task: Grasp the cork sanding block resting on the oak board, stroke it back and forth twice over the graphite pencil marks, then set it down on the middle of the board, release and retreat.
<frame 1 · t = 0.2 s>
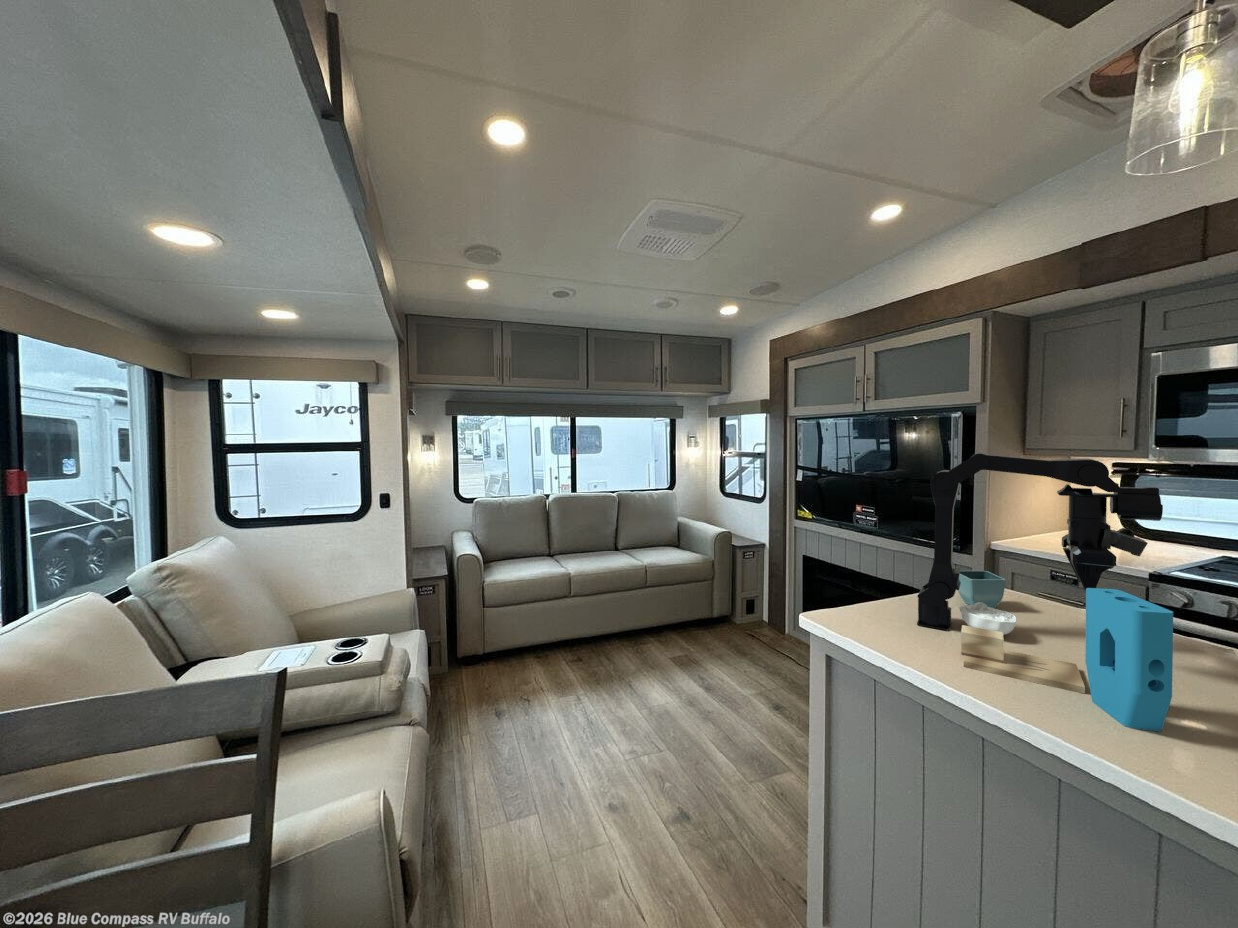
hand: (1086, 587, 99), 14 cm above the countertop, fingers open, 9 cm apart
board: (1019, 668, 95), on the countertop
block: (1125, 715, 78), on the countertop
flower pot: (979, 606, 129), on the countertop
sanding block: (982, 654, 98), point 1 cm above the countertop, touching board
cell model: (987, 633, 112), on the countertop
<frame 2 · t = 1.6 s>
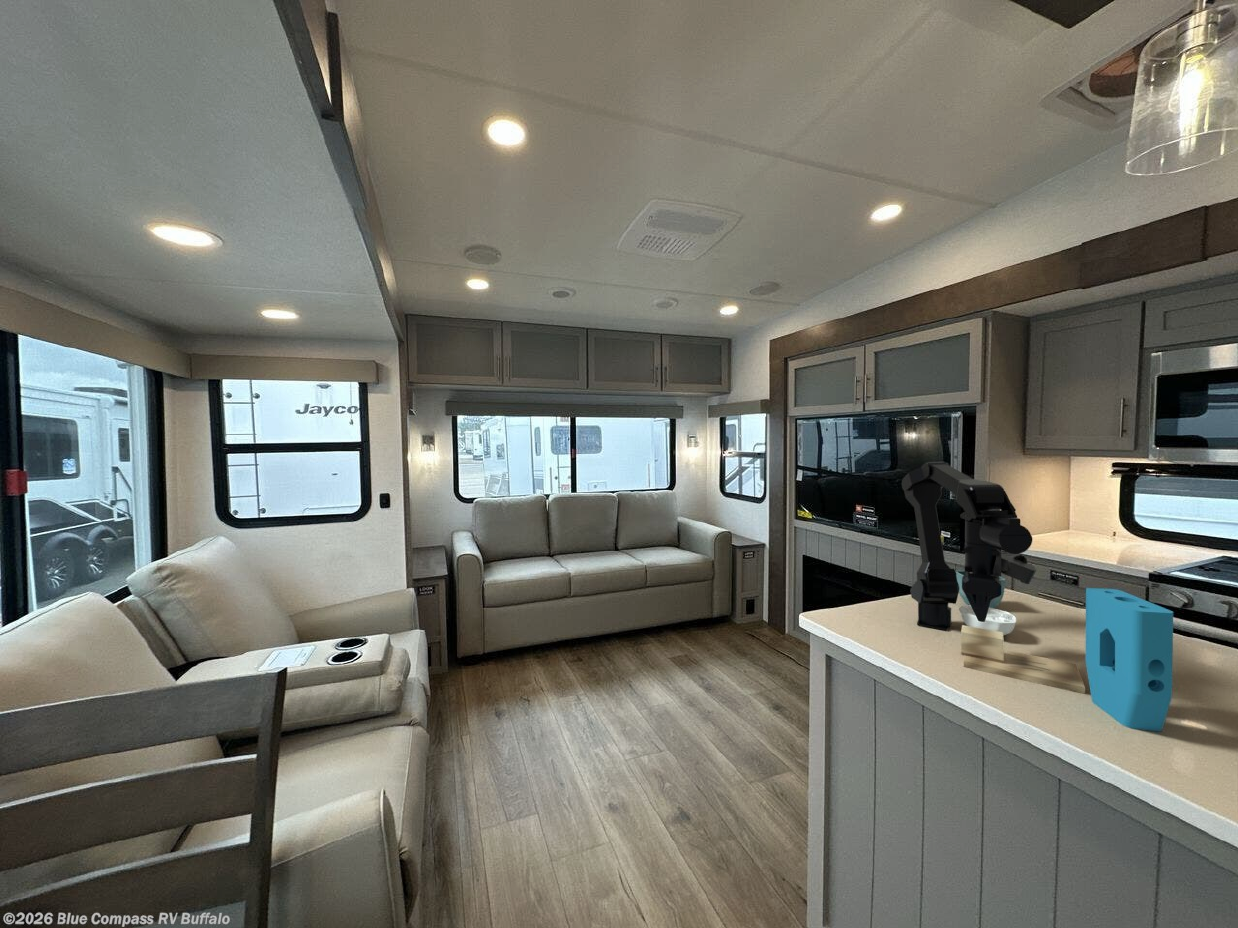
hand: (981, 614, 98), 10 cm above the countertop, fingers open, 9 cm apart
nothing on the countertop moved.
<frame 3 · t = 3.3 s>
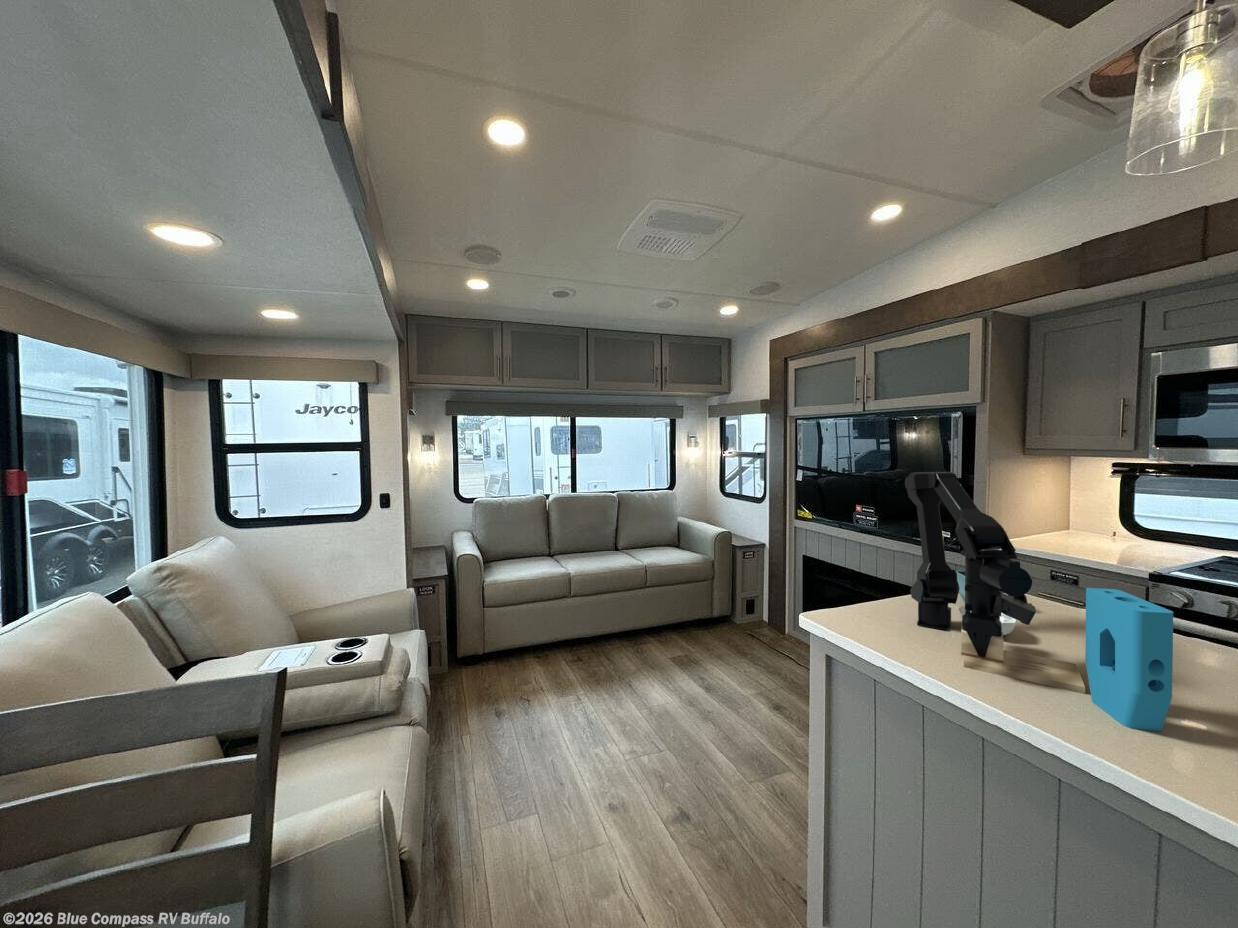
hand: (982, 652, 98), 2 cm above the countertop, fingers closed on sanding block, 4 cm apart
sanding block: (982, 654, 98), point 1 cm above the countertop, touching board, gripper
everything else where it was.
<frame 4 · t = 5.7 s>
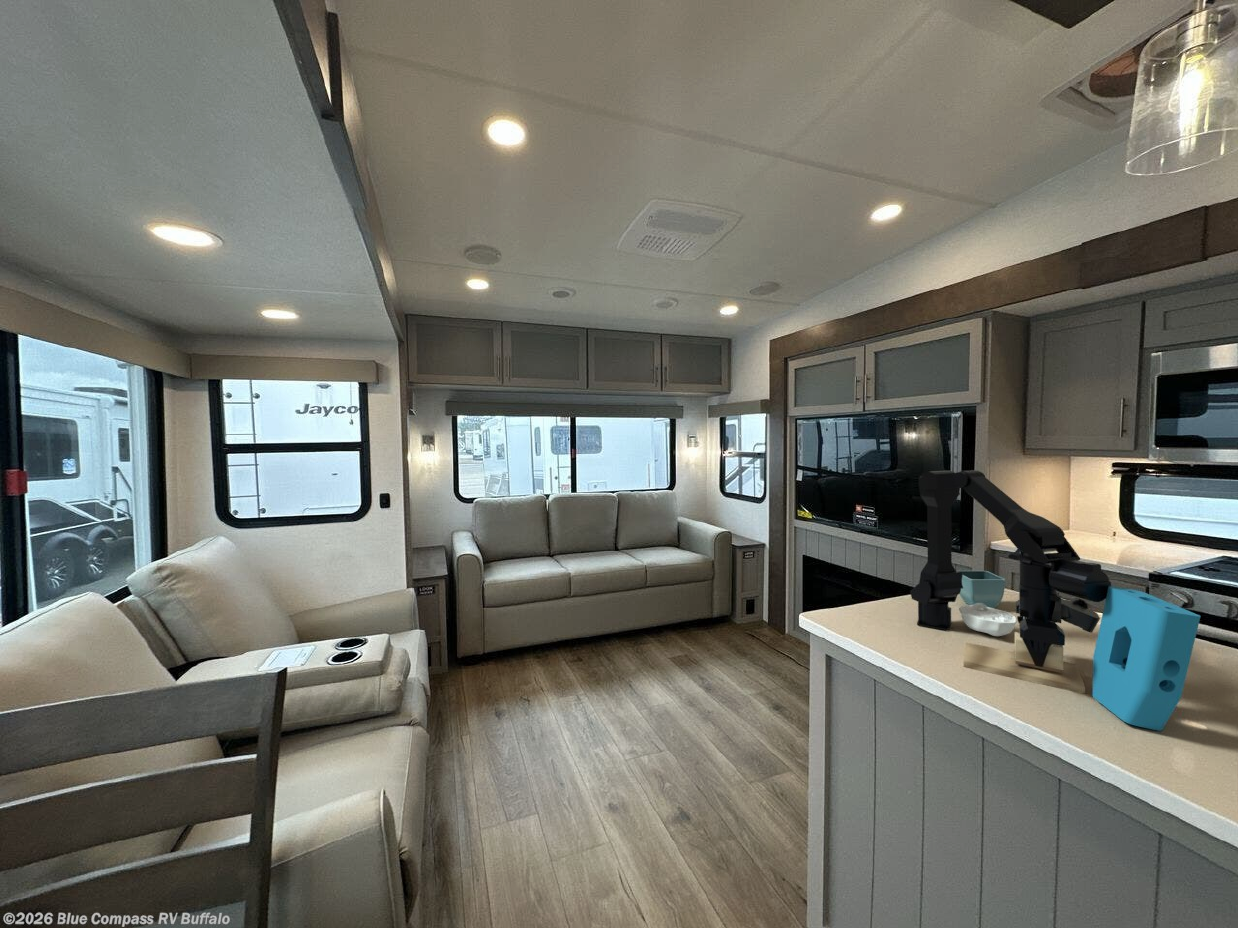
hand: (1037, 661, 93), 2 cm above the countertop, fingers closed on sanding block, 4 cm apart
block: (1125, 713, 78), on the countertop, touching arm
sanding block: (1037, 663, 93), point 2 cm above the countertop, touching gripper
everything else where it was.
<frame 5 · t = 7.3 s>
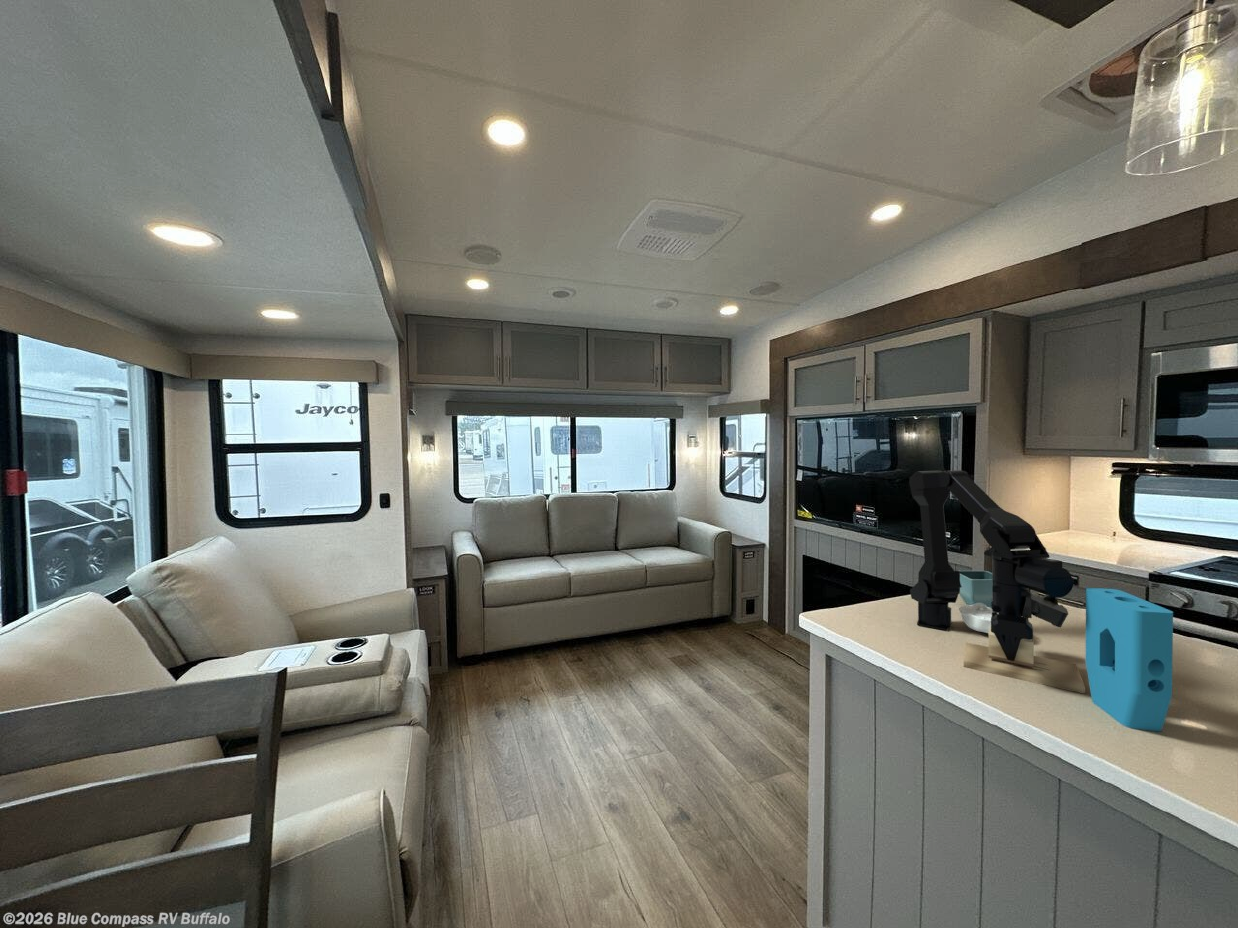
hand: (1010, 655, 95), 2 cm above the countertop, fingers closed on sanding block, 4 cm apart
block: (1125, 715, 78), on the countertop
sanding block: (1010, 658, 95), point 2 cm above the countertop, touching gripper
everything else where it was.
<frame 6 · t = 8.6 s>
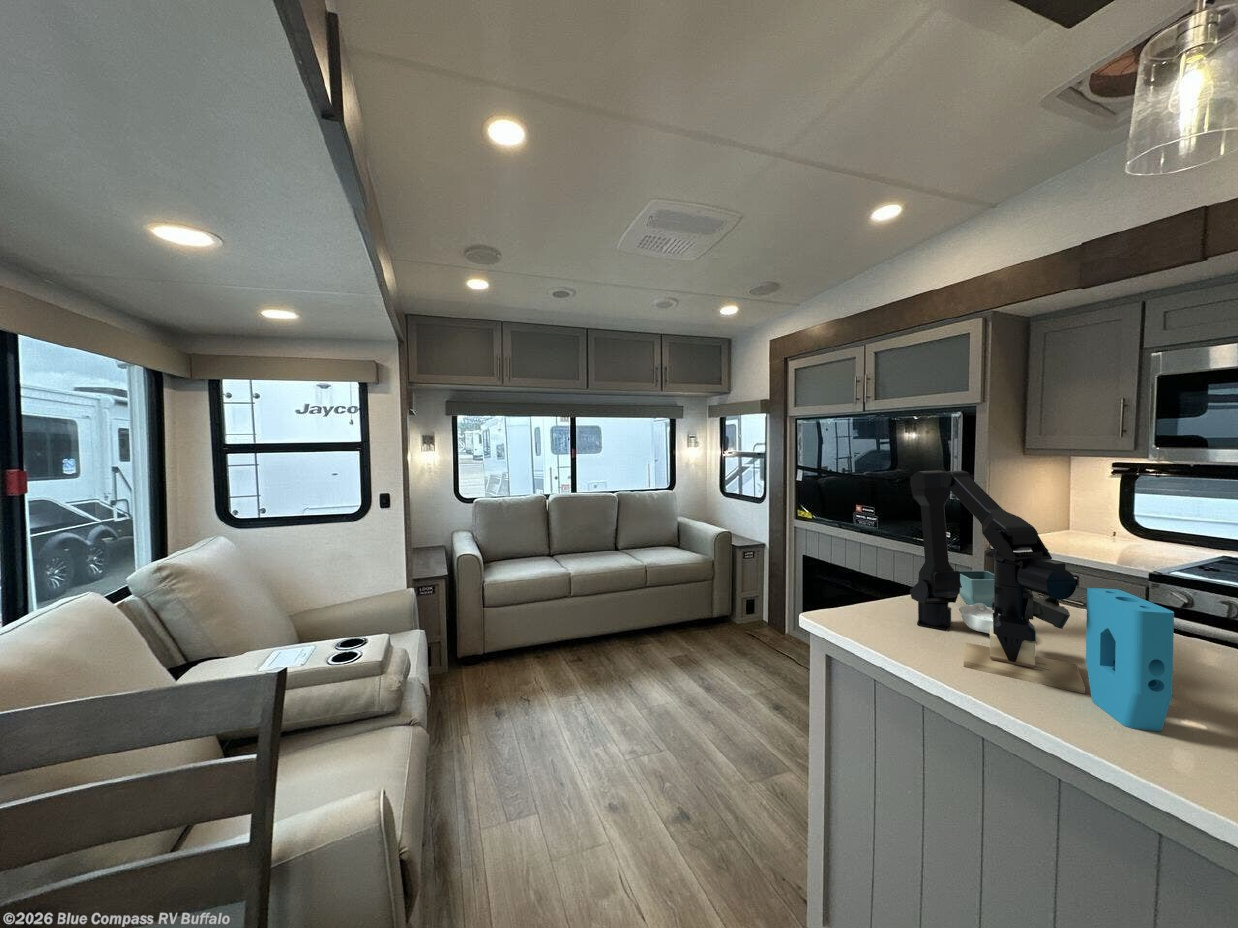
hand: (1011, 656, 95), 2 cm above the countertop, fingers closed on sanding block, 4 cm apart
sanding block: (1011, 658, 95), point 2 cm above the countertop, touching gripper
everything else where it was.
when the fingers open (2 cm above the countertop, at t = 10.1 s): sanding block stays where it is, resting on board.
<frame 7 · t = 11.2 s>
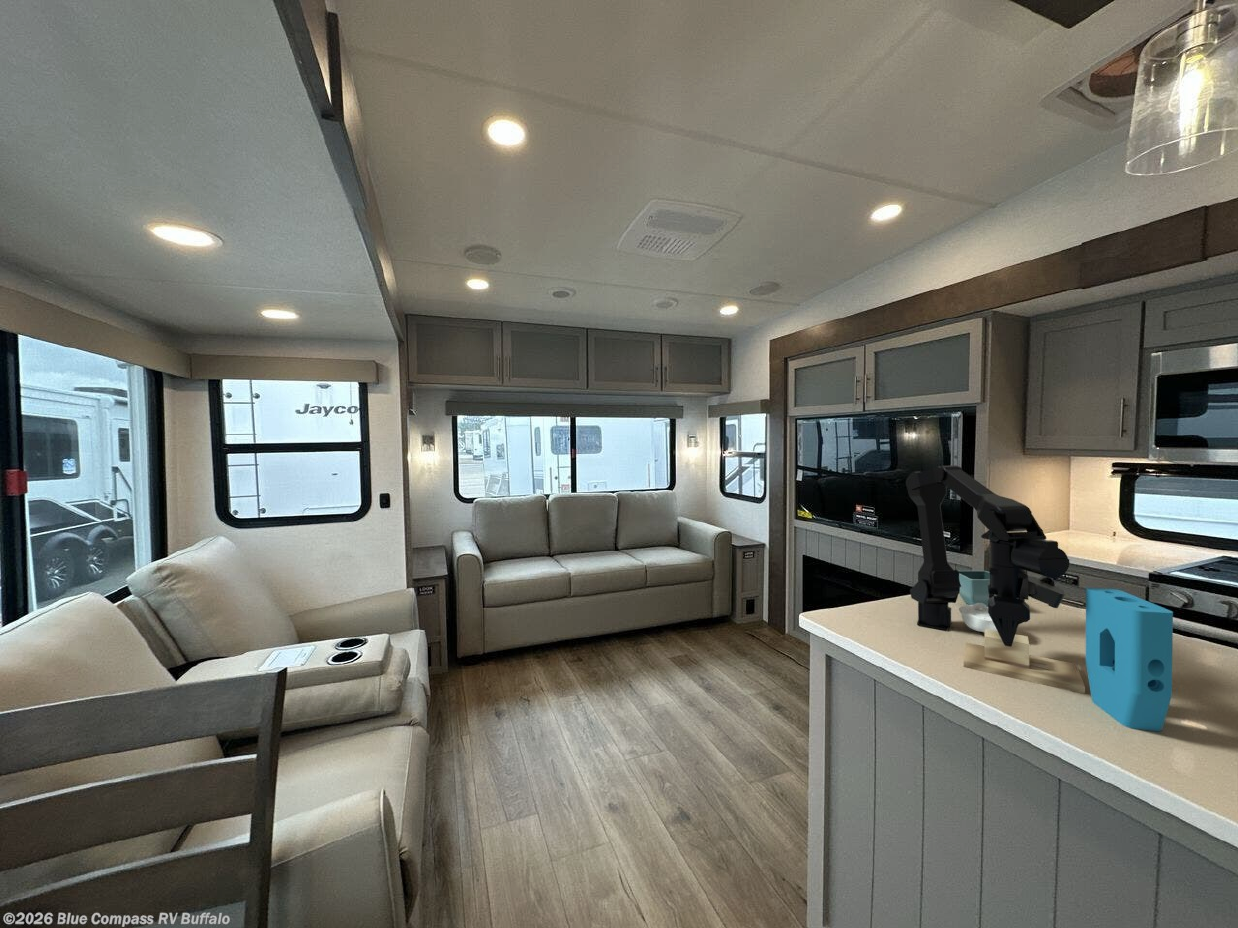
hand: (1007, 637, 95), 6 cm above the countertop, fingers open, 9 cm apart
sanding block: (1006, 659, 96), point 1 cm above the countertop, touching board
everything else where it was.
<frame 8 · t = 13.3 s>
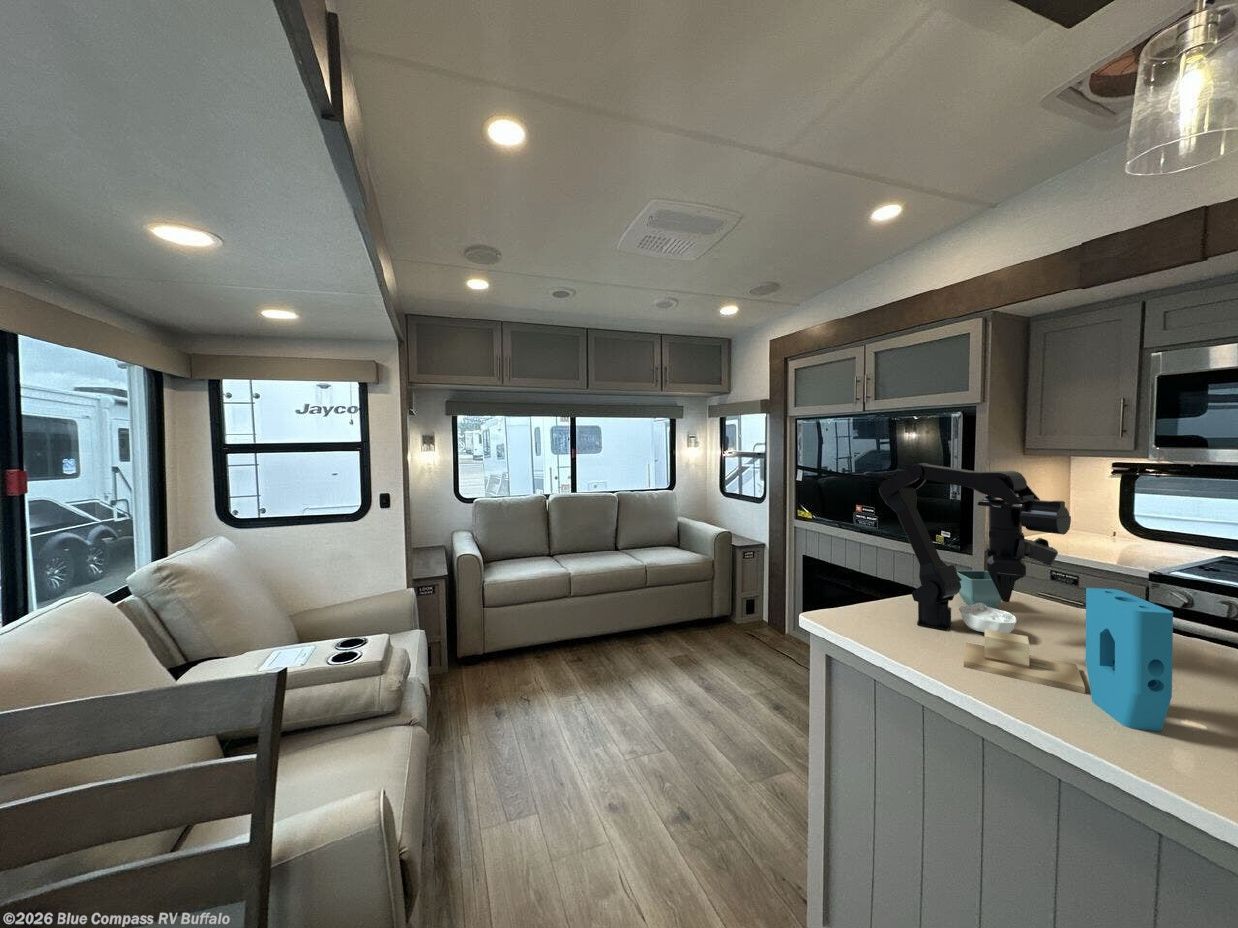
hand: (1005, 595, 103), 12 cm above the countertop, fingers open, 9 cm apart
nothing on the countertop moved.
at the end: sanding block 0.2 cm from the target spot, point 1.2 cm above the countertop; sanding block tilted 0°; the gripper is holding nothing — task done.
